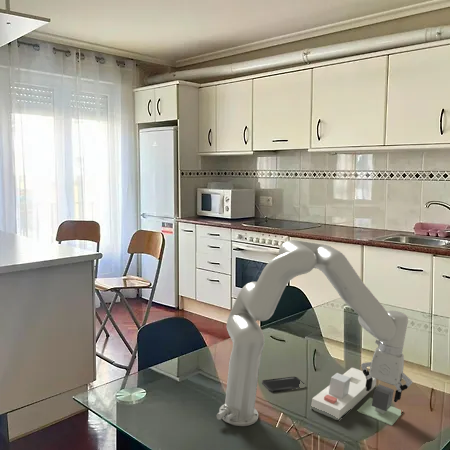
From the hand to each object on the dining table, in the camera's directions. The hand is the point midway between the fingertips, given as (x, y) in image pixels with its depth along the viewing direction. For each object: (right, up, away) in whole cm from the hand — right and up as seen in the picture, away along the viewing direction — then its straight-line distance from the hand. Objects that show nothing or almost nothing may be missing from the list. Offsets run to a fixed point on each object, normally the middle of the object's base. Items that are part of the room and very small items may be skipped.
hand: (382, 395), depth 171 cm
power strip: (-11, -4, +9) cm, 14 cm away
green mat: (0, -6, +1) cm, 6 cm away
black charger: (0, -6, +1) cm, 6 cm away
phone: (-32, -1, +13) cm, 35 cm away
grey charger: (-15, -2, +3) cm, 15 cm away
